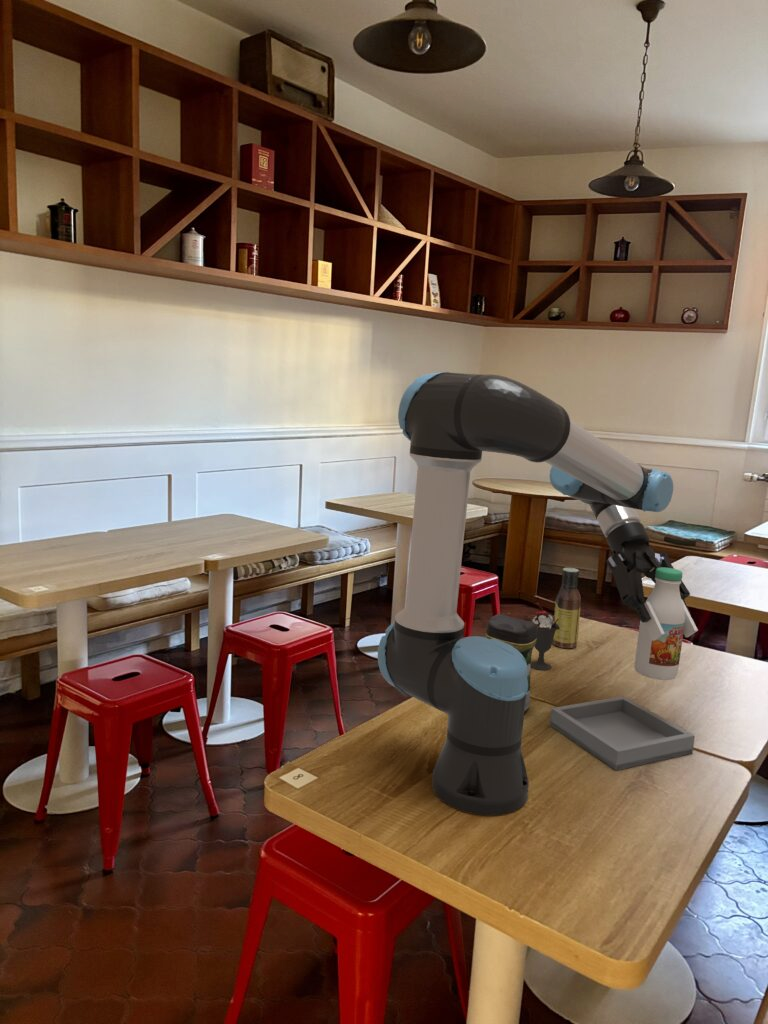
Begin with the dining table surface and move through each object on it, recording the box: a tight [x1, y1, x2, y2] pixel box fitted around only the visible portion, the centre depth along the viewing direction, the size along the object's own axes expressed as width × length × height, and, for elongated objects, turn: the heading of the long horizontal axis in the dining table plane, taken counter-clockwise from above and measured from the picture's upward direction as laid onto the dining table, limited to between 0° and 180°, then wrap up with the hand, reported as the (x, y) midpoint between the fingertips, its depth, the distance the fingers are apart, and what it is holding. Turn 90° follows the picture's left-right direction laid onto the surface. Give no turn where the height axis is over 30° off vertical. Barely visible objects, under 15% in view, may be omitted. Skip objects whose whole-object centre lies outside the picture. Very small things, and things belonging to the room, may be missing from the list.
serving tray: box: [549, 695, 696, 772], centre depth 139 cm, size 18×18×4 cm
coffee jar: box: [485, 613, 536, 713], centre depth 150 cm, size 10×8×19 cm
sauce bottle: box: [552, 567, 582, 650], centre depth 188 cm, size 6×6×20 cm
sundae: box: [530, 602, 560, 671], centre depth 173 cm, size 7×7×15 cm
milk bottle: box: [633, 567, 685, 681], centre depth 140 cm, size 8×8×20 cm
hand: (675, 635), depth 137 cm, fingers closed on milk bottle, 7 cm apart
